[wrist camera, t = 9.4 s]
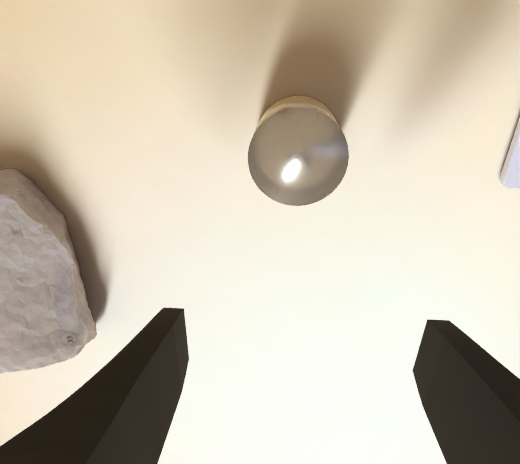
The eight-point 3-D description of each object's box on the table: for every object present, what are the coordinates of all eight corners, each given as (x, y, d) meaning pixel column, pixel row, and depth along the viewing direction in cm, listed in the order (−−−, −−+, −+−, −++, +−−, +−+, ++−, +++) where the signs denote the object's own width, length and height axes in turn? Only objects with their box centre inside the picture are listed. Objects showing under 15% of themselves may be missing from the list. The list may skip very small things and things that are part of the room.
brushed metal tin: (334, 87, 16) (344, 98, 13) (342, 171, 18) (352, 198, 15) (248, 104, 17) (238, 117, 14) (264, 183, 19) (258, 211, 15)
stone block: (48, 145, 20) (-124, 196, 20) (7, 168, 16) (-213, 233, 16) (134, 305, 26) (-1, 346, 25) (121, 354, 21) (-41, 404, 21)
